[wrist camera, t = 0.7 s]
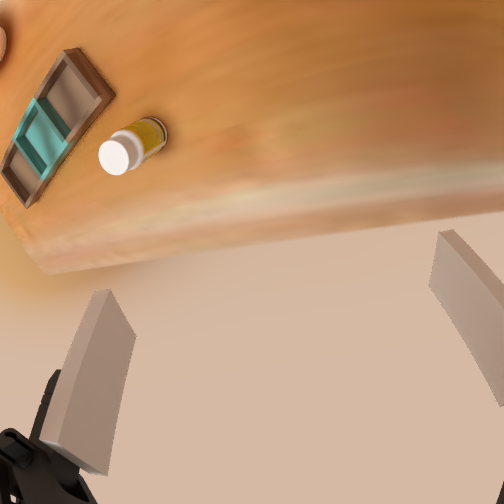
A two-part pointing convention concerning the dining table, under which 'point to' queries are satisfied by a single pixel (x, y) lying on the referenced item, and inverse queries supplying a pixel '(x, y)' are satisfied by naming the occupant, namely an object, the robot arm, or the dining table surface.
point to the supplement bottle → (132, 145)
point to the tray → (54, 124)
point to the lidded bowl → (2, 42)
